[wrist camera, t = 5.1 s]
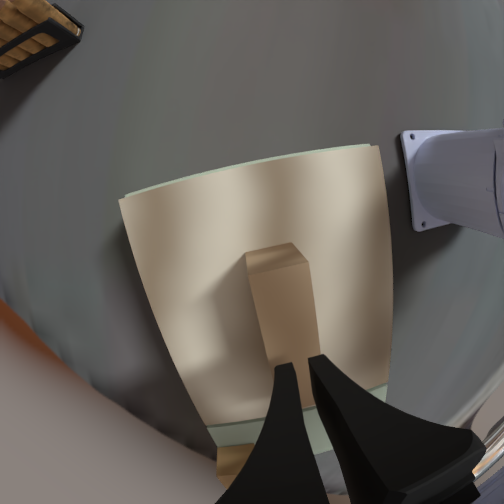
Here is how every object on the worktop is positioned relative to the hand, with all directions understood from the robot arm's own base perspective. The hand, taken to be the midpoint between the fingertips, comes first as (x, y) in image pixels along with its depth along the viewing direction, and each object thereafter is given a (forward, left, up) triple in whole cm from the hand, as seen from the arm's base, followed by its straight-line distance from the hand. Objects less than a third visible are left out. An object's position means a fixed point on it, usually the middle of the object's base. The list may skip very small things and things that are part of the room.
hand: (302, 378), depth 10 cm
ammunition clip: (+16, -25, -11) cm, 32 cm away
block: (+6, +14, -5) cm, 16 cm away
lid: (0, 0, -6) cm, 6 cm away
